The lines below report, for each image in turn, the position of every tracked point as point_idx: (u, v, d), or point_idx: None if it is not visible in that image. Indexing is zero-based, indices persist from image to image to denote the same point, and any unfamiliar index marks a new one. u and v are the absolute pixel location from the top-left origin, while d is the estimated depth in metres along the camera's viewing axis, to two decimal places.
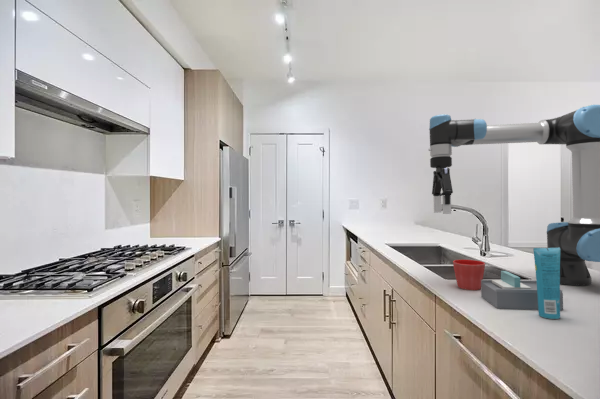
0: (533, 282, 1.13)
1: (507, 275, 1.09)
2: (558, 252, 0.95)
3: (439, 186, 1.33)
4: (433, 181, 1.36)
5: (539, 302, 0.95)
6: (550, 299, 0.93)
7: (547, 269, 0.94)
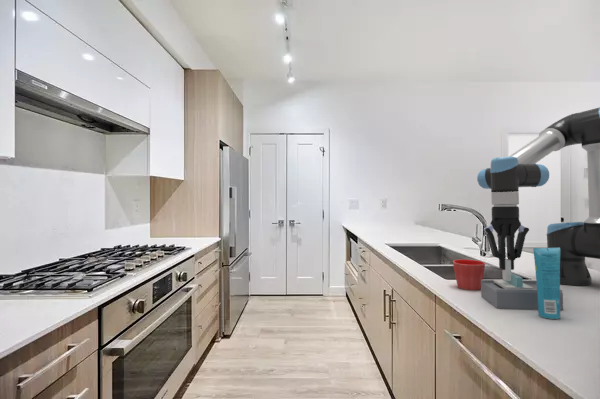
0: (533, 282, 1.13)
1: None
2: (558, 252, 0.95)
3: (508, 243, 1.09)
4: None
5: (539, 302, 0.95)
6: (550, 299, 0.93)
7: (547, 269, 0.94)
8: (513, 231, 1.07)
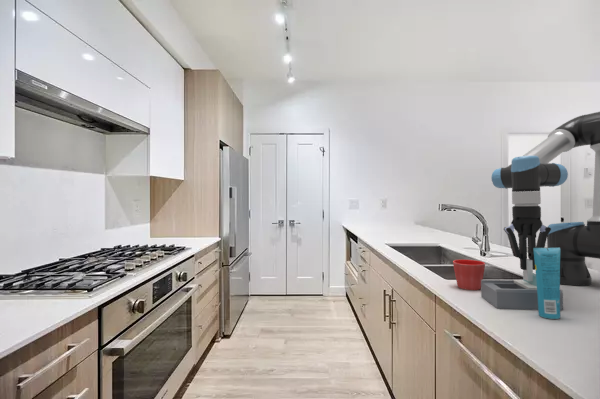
0: None
1: None
2: (558, 252, 0.95)
3: (529, 243, 1.08)
4: None
5: (539, 302, 0.95)
6: (550, 299, 0.93)
7: (547, 269, 0.94)
8: (535, 231, 1.06)
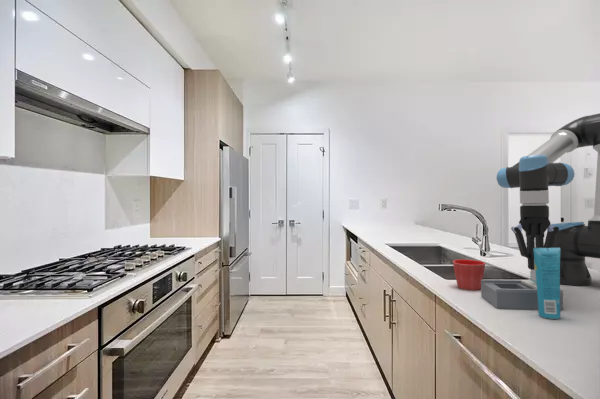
0: None
1: None
2: (558, 252, 0.95)
3: (537, 242, 1.07)
4: None
5: (539, 302, 0.95)
6: (550, 299, 0.93)
7: (547, 269, 0.94)
8: (543, 230, 1.06)
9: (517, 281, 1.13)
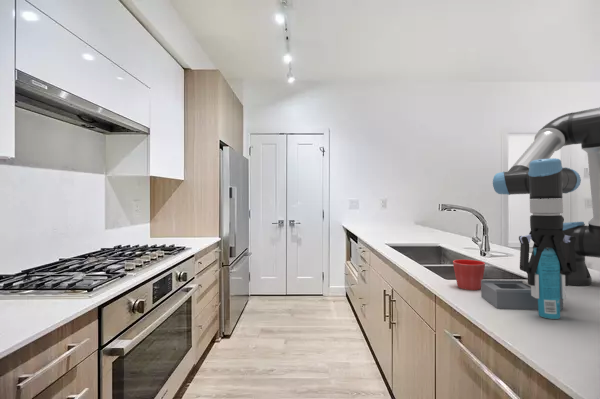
0: None
1: None
2: None
3: None
4: None
5: (539, 302, 0.95)
6: (551, 299, 0.93)
7: (547, 269, 0.94)
8: (558, 243, 0.94)
9: (517, 281, 1.13)
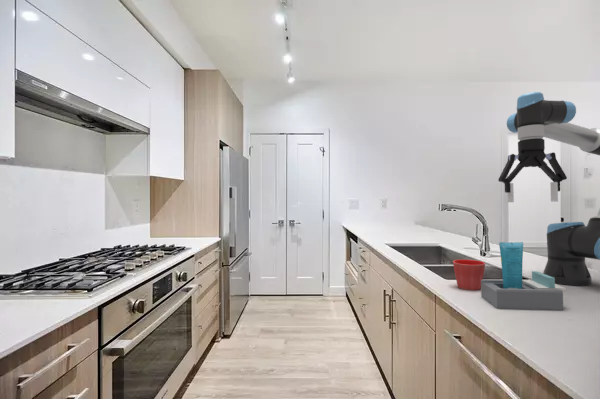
0: None
1: (540, 275, 1.07)
2: (521, 246, 1.08)
3: (546, 171, 1.16)
4: None
5: None
6: (513, 287, 1.07)
7: (511, 261, 1.08)
8: (542, 160, 1.14)
9: None
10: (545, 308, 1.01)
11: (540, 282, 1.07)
